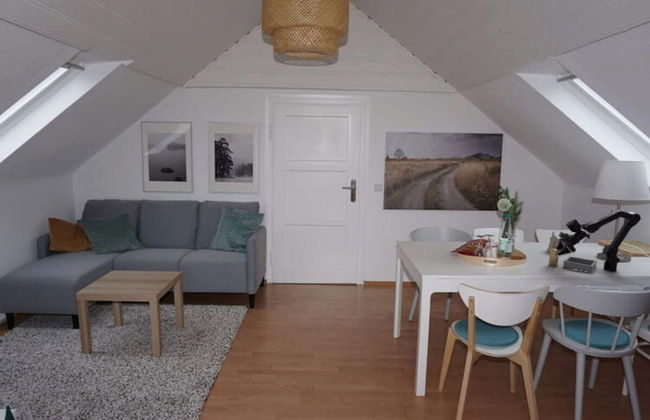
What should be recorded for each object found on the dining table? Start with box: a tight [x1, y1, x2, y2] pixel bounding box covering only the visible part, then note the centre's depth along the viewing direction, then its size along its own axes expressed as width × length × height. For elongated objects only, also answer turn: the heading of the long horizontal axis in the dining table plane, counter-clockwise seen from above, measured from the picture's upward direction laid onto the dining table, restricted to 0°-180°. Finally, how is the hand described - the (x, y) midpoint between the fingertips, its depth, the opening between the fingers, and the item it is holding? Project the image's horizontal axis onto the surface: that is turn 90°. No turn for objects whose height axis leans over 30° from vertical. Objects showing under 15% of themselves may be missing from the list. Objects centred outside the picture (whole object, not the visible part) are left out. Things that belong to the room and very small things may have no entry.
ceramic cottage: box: [546, 231, 571, 256], centre depth 334 cm, size 16×16×15 cm
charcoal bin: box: [562, 255, 598, 273], centre depth 297 cm, size 16×16×4 cm
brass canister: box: [548, 248, 560, 268], centre depth 299 cm, size 5×5×11 cm
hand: (556, 253), depth 299 cm, fingers open, 9 cm apart
